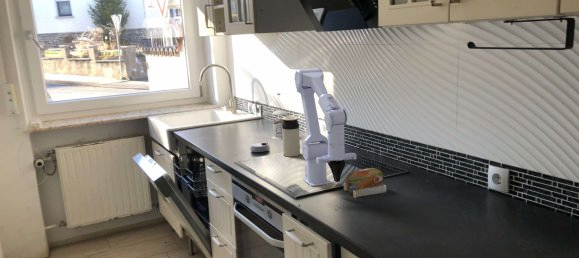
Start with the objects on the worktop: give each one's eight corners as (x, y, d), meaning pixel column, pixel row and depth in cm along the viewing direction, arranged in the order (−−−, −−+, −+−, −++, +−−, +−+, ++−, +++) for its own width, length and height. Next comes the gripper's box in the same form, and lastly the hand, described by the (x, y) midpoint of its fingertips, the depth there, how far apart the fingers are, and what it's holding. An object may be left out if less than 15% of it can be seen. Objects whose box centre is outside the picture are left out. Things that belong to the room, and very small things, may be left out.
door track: (342, 189, 177) (342, 183, 177) (374, 185, 181) (374, 178, 181) (354, 197, 168) (354, 191, 168) (387, 192, 172) (387, 186, 172)
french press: (269, 136, 272) (266, 92, 267) (287, 134, 277) (285, 91, 272) (275, 140, 264) (273, 94, 259) (295, 137, 268) (293, 92, 263)
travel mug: (285, 157, 226) (284, 119, 222) (281, 153, 233) (280, 117, 230) (302, 155, 228) (300, 118, 224) (297, 152, 235) (296, 115, 232)
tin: (348, 196, 170) (348, 173, 169) (344, 193, 173) (343, 171, 172) (384, 189, 176) (384, 167, 174) (380, 187, 179) (379, 165, 177)
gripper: (321, 148, 162) (322, 187, 164) (360, 143, 166) (360, 181, 169) (313, 144, 168) (314, 181, 171) (350, 139, 173) (351, 175, 176)
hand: (336, 180), depth 170 cm, fingers closed
